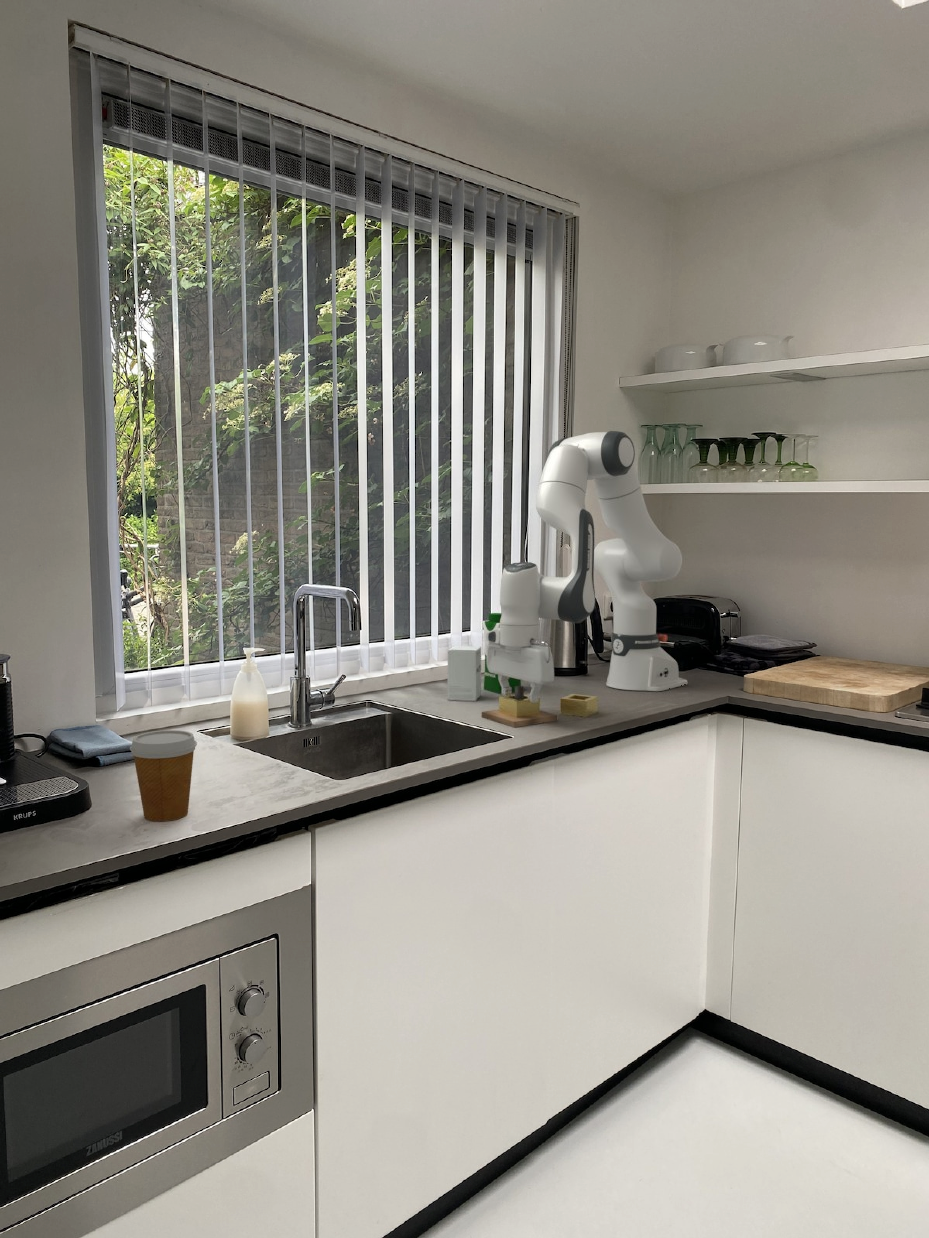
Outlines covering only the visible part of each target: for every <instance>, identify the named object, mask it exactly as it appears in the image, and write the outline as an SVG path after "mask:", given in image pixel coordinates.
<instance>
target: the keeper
mask: <svg viewBox="0 0 929 1238" xmlns="http://www.w3.org/2000/svg"><path fill="white" fill-rule="evenodd" d="M524 694H525V686H523V685H521V686H515V692H514V695H515V699H516V700H521V699H524ZM481 718H483V719H486V720H489V721H493V722H496V723H499V724H501V725H502V724H503V725H506V726H509V727H512V728H520V727H524V726H530V725H537V724H542V723H543V722H544V723H549V722H550V723H551V722H556V721H558V714H554V713H551V712H548V711H544V710H540V714H538V715H531V716H525V717H519V718H516V717H512V716H509V715H506V714H502V713H499V708H498V709H491V710H485V711H481Z"/></svg>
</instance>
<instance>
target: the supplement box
mask: <svg viewBox="0 0 929 1238" xmlns="http://www.w3.org/2000/svg"><path fill="white" fill-rule="evenodd" d="M481 696H482V646H479V645H477V646H476V645H475V646H473V645H464V646H463V645H453V646H452V647H450V648H448V649H447V699H446V700H448V701H462V702H476V701H477V700H478V699H479V698H480V697H481Z"/></svg>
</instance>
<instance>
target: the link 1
mask: <svg viewBox="0 0 929 1238" xmlns="http://www.w3.org/2000/svg"><path fill="white" fill-rule="evenodd" d="M527 699H528V694H525V693H524V699H521V700H516V699H515V694H511V695H508V696H506V695H502V696H498V701H499V702H498V705H499V706H498V707H499V708H498V709H499V713H502V714H506V715H509V716H512V717H516V718H519V717H525V716H531V715H538V714H540V706H541V704H540V703H541V699H540V697H538V701H537V702H535V703H532V702H528V700H527Z"/></svg>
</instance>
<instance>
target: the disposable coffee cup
mask: <svg viewBox="0 0 929 1238" xmlns="http://www.w3.org/2000/svg"><path fill="white" fill-rule="evenodd" d="M197 744H198V742H197V740H195V736H194V733H193V732H190V731H186V730H178V729H177V730H176V729H173V730H172V729H169V730H167V729H165V730H155V731H149V732H144V733H140V734H137V735H136V736H134V737H133V738H132V743H131V745H130V746H129V750H130V751H131V755H133V759H134V760H133V761H134V765H135V772H136V776H137V777H136V778H137V783H138V788H139V795H140V799H141V800H140V801H141V805H142V811H143V818H144V819H146V820H147V821H151V822H168V821H169V822H170V821H174V820H178V819H181V818H183V817H184V818H185V817H186V816H187V815H189V806H190V805H189V804H190V795H191V783H192V776H193V775H192V773H193V763H194V762H193V761H194V755H195V754H194V753H195V750H196V747H197Z"/></svg>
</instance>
